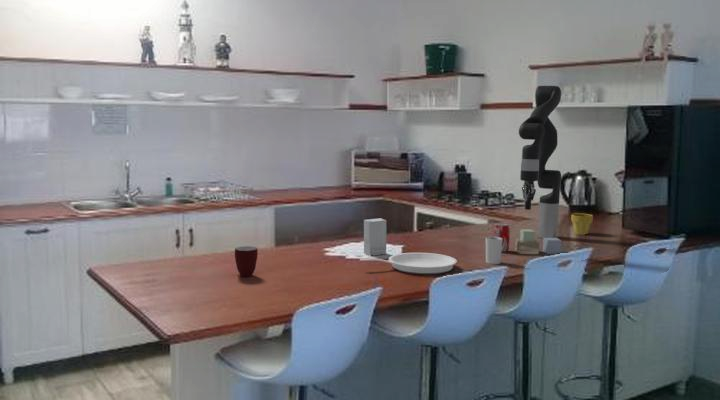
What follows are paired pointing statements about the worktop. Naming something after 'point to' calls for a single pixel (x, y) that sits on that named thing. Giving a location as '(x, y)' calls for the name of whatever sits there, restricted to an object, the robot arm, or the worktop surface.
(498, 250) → the drinking glass
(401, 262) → the pan
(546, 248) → the slate block
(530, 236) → the green cap
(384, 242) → the skincare box
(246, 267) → the mug
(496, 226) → the soda can
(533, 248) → the button housing
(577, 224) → the plant pot
